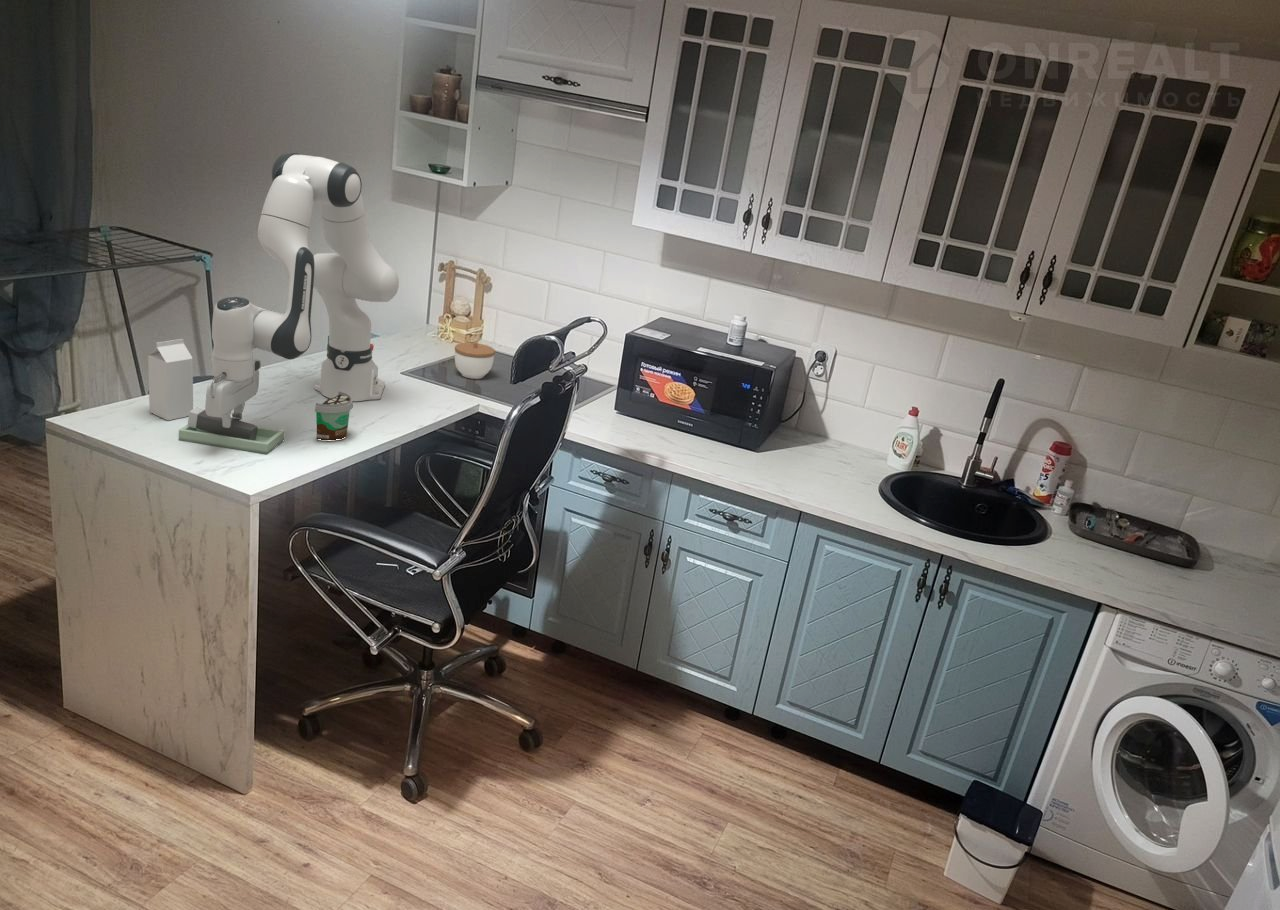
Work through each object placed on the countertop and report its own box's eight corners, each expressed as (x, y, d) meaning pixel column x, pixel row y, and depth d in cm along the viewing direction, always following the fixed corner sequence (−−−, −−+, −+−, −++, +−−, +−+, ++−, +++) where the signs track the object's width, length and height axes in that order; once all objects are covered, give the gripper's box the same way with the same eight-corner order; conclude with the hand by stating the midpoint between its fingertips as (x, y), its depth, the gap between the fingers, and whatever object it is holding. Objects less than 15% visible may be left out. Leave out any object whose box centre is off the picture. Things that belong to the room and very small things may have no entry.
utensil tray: (199, 426, 233) (199, 417, 232) (284, 440, 233) (284, 430, 232) (178, 440, 224) (178, 430, 223) (267, 454, 224) (267, 444, 223)
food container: (336, 447, 235) (338, 408, 231) (313, 441, 235) (315, 403, 232) (360, 432, 246) (362, 395, 242) (338, 427, 247) (339, 390, 243)
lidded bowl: (445, 371, 306) (447, 337, 303) (478, 368, 315) (481, 336, 311) (466, 383, 298) (469, 349, 294) (499, 379, 307) (503, 346, 303)
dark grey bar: (255, 438, 230) (258, 425, 229) (249, 443, 226) (251, 429, 225) (195, 421, 229) (197, 407, 228) (187, 426, 226) (189, 411, 225)
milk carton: (193, 415, 239) (192, 342, 233) (167, 421, 233) (165, 346, 227) (175, 407, 242) (174, 335, 236) (149, 413, 236) (147, 339, 230)
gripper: (225, 382, 212) (225, 439, 217) (264, 359, 232) (263, 412, 236) (197, 377, 212) (197, 435, 217) (238, 355, 232) (238, 408, 236)
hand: (232, 423), depth 227 cm, fingers closed on dark grey bar, 3 cm apart
